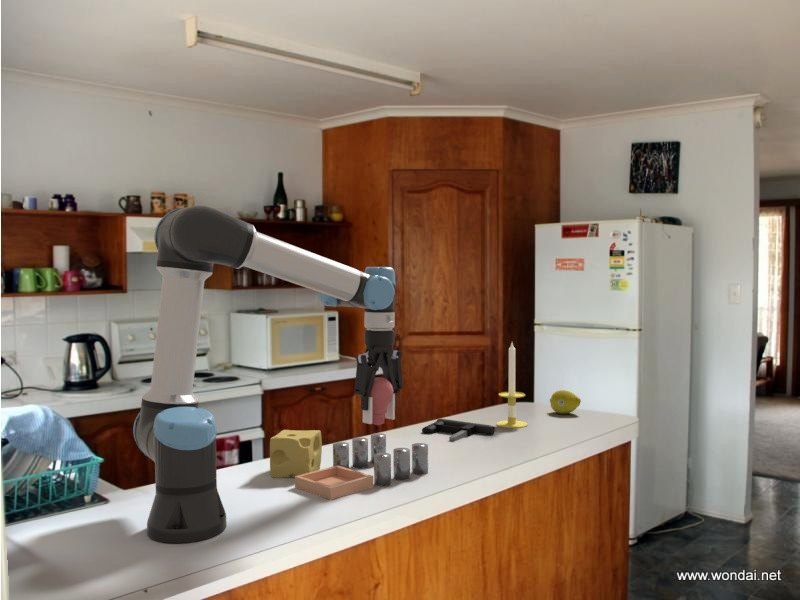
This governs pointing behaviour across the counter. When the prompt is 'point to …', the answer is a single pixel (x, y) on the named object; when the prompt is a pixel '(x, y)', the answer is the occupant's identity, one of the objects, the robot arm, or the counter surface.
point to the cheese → (295, 453)
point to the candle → (511, 396)
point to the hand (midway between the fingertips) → (378, 420)
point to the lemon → (564, 402)
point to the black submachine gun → (458, 428)
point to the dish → (333, 482)
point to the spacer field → (382, 458)
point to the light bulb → (380, 399)
